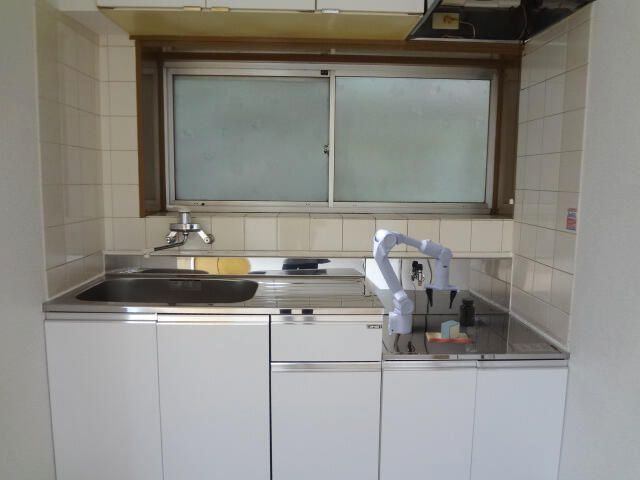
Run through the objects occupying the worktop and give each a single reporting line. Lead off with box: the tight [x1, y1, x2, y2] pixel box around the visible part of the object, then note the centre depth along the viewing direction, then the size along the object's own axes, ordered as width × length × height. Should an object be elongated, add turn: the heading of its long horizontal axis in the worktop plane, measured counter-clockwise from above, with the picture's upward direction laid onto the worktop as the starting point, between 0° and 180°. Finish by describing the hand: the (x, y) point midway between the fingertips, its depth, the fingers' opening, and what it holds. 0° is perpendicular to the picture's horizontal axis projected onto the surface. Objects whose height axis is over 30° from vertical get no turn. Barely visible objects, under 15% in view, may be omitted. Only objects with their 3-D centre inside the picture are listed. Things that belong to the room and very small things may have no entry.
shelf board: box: [425, 332, 473, 344], centre depth 177 cm, size 16×10×2 cm, turn 85°
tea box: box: [440, 319, 461, 338], centre depth 176 cm, size 4×6×6 cm
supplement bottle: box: [457, 297, 477, 328], centre depth 191 cm, size 7×7×12 cm
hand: (440, 307), depth 186 cm, fingers open, 7 cm apart
